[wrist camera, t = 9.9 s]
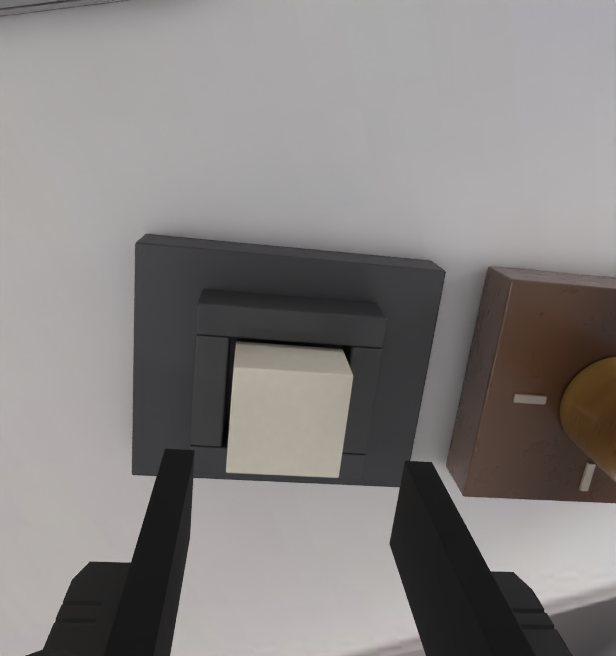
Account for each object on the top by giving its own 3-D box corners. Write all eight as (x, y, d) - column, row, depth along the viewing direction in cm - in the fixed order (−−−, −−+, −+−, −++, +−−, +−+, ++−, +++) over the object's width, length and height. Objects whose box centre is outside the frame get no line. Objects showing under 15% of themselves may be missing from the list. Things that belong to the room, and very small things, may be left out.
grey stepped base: (431, 260, 24) (464, 283, 20) (395, 463, 27) (417, 516, 24) (145, 233, 23) (122, 252, 19) (140, 451, 26) (120, 504, 22)
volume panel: (718, 287, 26) (767, 303, 23) (653, 477, 29) (690, 509, 26) (487, 265, 25) (513, 280, 22) (445, 466, 28) (464, 499, 25)
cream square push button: (342, 348, 21) (353, 375, 19) (330, 442, 23) (338, 478, 20) (236, 340, 21) (233, 367, 18) (229, 436, 22) (225, 473, 20)
